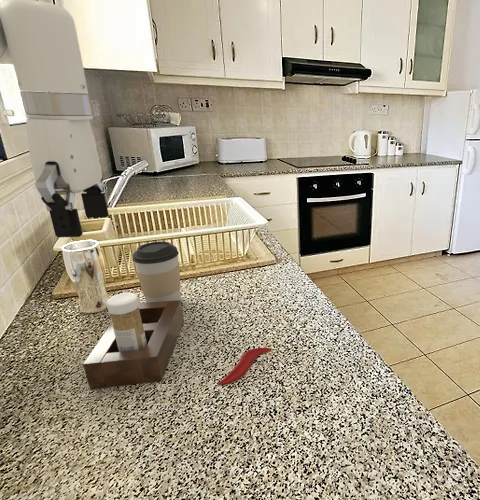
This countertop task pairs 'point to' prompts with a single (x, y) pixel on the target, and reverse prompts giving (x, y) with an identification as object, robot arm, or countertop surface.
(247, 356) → the cayenne pepper
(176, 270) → the coffee cup
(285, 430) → the countertop surface
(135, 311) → the sprinkles bottle
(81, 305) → the beer glass
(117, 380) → the holder
